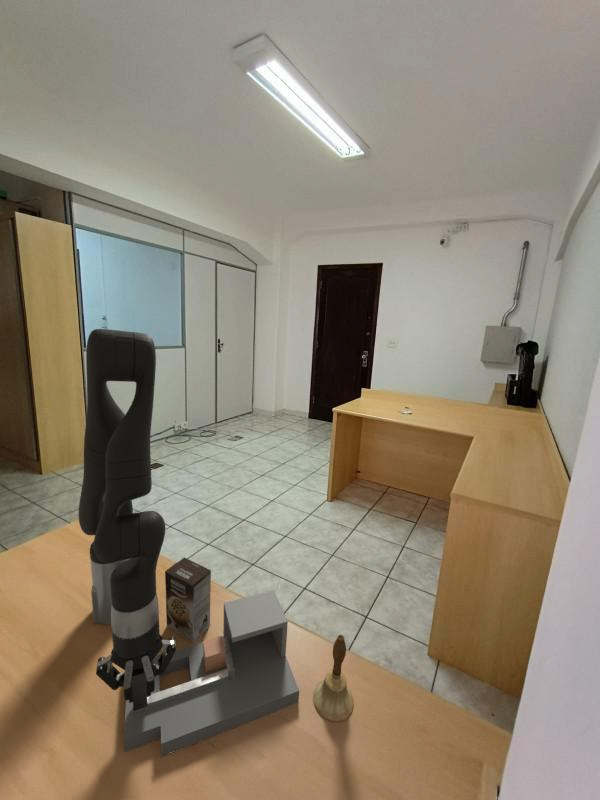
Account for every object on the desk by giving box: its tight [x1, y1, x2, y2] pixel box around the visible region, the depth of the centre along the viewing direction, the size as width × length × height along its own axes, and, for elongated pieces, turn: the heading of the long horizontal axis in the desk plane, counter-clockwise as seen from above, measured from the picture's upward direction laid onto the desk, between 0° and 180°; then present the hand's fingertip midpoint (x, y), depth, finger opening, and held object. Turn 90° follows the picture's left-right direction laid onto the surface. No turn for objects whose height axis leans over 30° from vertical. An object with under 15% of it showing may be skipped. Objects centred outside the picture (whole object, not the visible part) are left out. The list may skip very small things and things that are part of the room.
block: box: [202, 635, 225, 673], centre depth 75 cm, size 4×4×4 cm
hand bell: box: [313, 634, 355, 723], centre depth 70 cm, size 8×8×16 cm
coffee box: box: [164, 557, 212, 643], centre depth 85 cm, size 9×6×16 cm
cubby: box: [123, 589, 300, 757], centre depth 72 cm, size 32×18×12 cm, turn 113°
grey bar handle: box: [131, 637, 235, 714], centre depth 71 cm, size 19×8×9 cm, turn 113°
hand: (140, 694), depth 65 cm, fingers closed on grey bar handle, 2 cm apart
